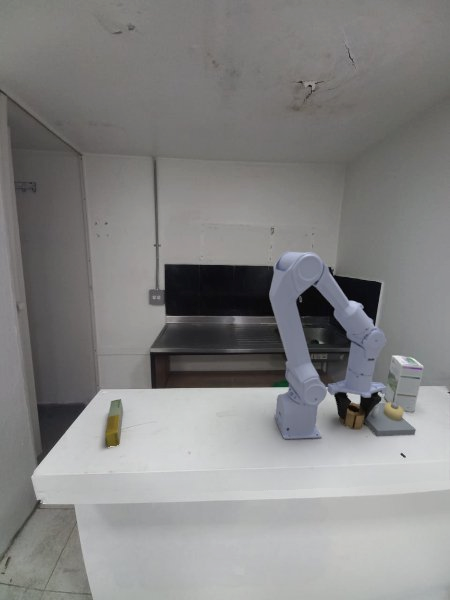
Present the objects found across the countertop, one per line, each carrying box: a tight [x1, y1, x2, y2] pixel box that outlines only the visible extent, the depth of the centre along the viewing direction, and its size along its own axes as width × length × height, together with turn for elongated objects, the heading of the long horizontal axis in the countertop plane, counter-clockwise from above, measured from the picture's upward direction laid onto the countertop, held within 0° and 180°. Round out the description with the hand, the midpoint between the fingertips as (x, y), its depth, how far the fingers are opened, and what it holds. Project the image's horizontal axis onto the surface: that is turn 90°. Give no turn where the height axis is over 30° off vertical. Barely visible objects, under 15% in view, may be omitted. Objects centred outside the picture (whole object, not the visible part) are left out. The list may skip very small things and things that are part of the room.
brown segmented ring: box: [338, 402, 366, 430], centre depth 61 cm, size 5×5×4 cm
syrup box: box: [383, 354, 425, 413], centre depth 67 cm, size 6×6×14 cm
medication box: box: [104, 398, 124, 447], centre depth 57 cm, size 12×3×4 cm, turn 20°
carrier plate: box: [357, 401, 417, 437], centre depth 62 cm, size 10×10×5 cm
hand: (351, 416), depth 61 cm, fingers closed on brown segmented ring, 5 cm apart
